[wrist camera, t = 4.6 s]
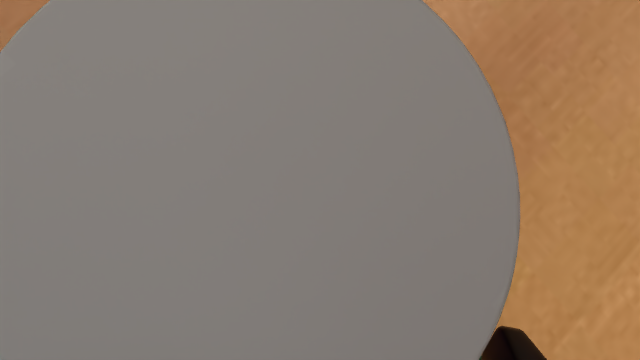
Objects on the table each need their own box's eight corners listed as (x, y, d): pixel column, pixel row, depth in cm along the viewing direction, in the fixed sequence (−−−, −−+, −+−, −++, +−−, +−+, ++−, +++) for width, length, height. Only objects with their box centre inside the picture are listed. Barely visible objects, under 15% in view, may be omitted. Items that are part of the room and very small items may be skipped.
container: (303, 335, 18) (369, 664, 3) (195, 274, 18) (-225, 317, 3) (361, 225, 19) (624, 82, 4) (257, 168, 19) (144, -172, 4)
